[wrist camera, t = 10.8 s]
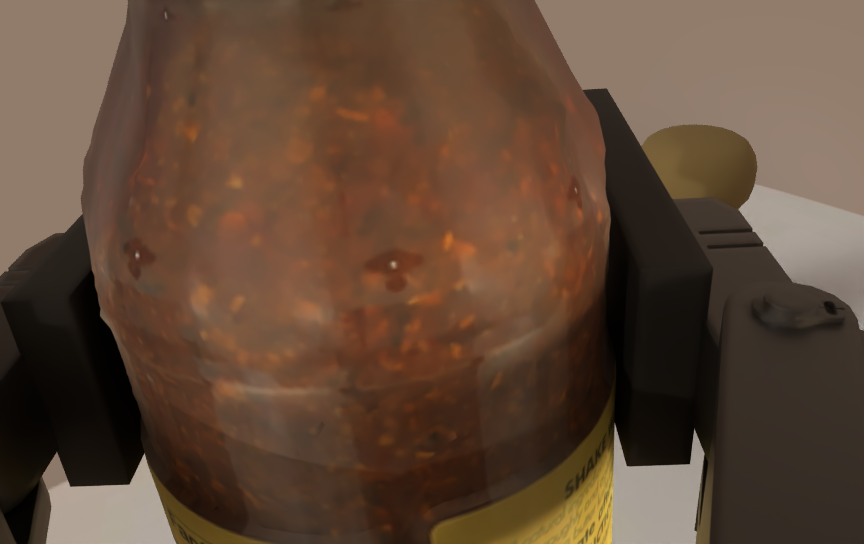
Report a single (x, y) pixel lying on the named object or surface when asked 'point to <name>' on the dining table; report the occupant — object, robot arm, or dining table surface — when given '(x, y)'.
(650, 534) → the dining table surface
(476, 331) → the sauce bottle
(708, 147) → the brown pawn
